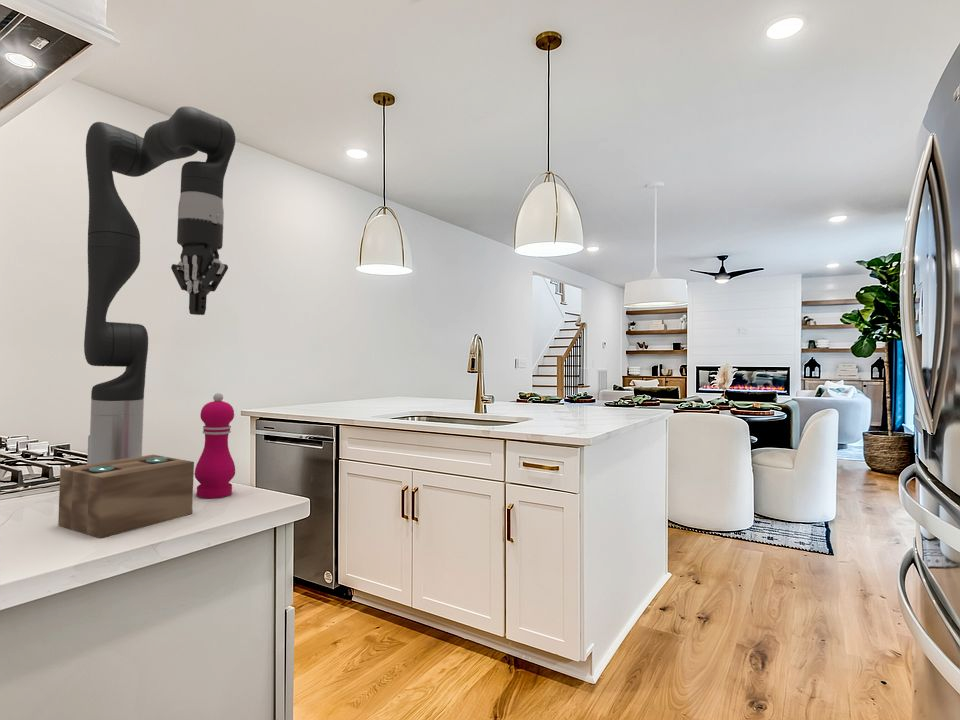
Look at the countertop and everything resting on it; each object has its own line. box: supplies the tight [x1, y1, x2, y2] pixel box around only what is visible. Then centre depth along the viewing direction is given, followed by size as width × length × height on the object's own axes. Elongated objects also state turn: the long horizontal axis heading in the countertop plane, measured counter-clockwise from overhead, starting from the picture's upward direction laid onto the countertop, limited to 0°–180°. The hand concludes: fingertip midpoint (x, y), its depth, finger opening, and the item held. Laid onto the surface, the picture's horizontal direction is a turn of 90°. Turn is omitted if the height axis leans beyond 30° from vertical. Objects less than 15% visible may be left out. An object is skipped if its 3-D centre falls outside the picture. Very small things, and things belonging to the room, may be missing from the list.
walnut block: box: [57, 454, 195, 539], centre depth 90 cm, size 11×15×9 cm
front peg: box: [89, 466, 114, 474], centre depth 85 cm, size 3×3×8 cm
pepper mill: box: [194, 392, 236, 499], centre depth 107 cm, size 7×7×20 cm
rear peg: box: [146, 456, 167, 464], centre depth 94 cm, size 3×3×8 cm
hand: (197, 314), depth 101 cm, fingers closed
